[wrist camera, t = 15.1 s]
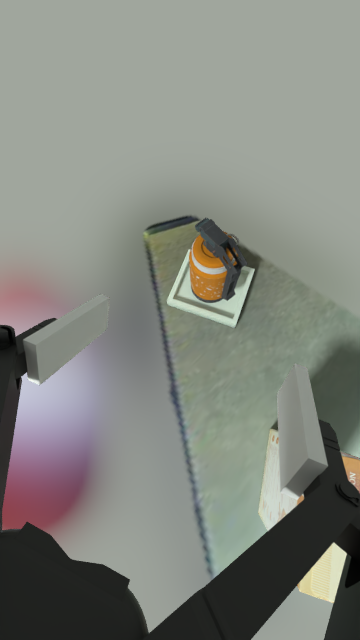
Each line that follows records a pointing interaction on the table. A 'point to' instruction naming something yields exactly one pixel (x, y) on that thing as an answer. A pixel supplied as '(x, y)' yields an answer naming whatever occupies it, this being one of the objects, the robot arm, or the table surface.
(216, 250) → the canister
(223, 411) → the table surface
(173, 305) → the tray
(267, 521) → the coffeecake box
